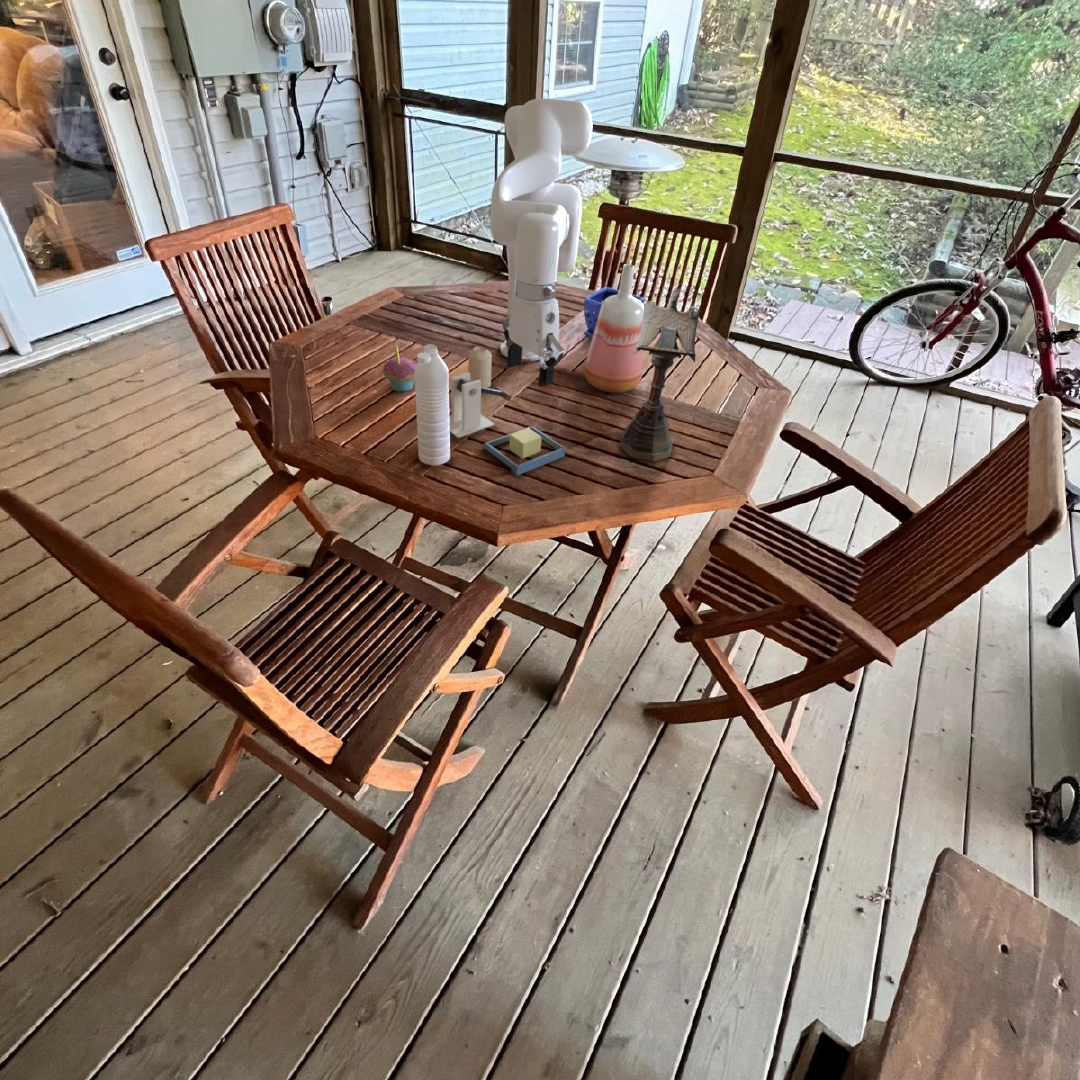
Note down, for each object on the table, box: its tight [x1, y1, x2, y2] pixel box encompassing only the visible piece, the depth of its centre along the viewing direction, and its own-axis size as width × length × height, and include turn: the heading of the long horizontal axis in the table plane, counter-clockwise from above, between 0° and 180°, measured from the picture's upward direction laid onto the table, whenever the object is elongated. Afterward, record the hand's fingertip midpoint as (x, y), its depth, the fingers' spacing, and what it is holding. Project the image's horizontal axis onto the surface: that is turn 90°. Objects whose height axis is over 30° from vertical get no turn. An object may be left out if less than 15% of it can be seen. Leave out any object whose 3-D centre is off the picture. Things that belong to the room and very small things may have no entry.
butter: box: [508, 427, 542, 459], centre depth 145 cm, size 5×4×4 cm
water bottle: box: [414, 343, 451, 466], centre depth 134 cm, size 9×6×25 cm
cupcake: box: [382, 343, 417, 393], centre depth 163 cm, size 9×8×12 cm
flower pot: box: [583, 286, 645, 340], centre depth 194 cm, size 13×13×12 cm
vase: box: [583, 264, 645, 394], centre depth 166 cm, size 14×14×30 cm
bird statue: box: [619, 288, 700, 462], centre depth 140 cm, size 17×13×35 cm
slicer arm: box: [457, 379, 512, 402], centre depth 151 cm, size 13×5×2 cm, turn 130°
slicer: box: [449, 371, 496, 439], centre depth 150 cm, size 10×8×12 cm
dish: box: [483, 425, 567, 476], centre depth 146 cm, size 13×11×2 cm
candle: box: [468, 346, 493, 388], centre depth 166 cm, size 6×6×10 cm
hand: (529, 375), depth 135 cm, fingers open, 9 cm apart
